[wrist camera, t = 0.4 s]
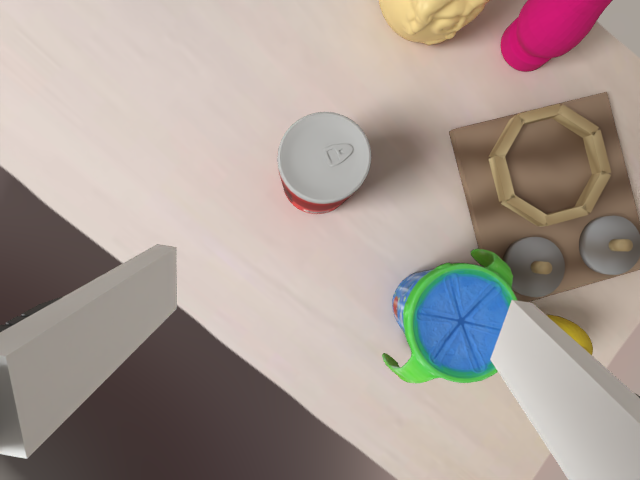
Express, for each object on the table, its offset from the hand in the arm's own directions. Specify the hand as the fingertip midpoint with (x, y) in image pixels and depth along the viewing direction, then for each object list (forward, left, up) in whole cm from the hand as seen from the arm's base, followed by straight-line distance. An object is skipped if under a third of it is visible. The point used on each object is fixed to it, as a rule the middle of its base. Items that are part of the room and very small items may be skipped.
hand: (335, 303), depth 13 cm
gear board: (0, +30, -25) cm, 39 cm away
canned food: (-9, +3, -25) cm, 27 cm away
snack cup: (+8, +12, -25) cm, 29 cm away
